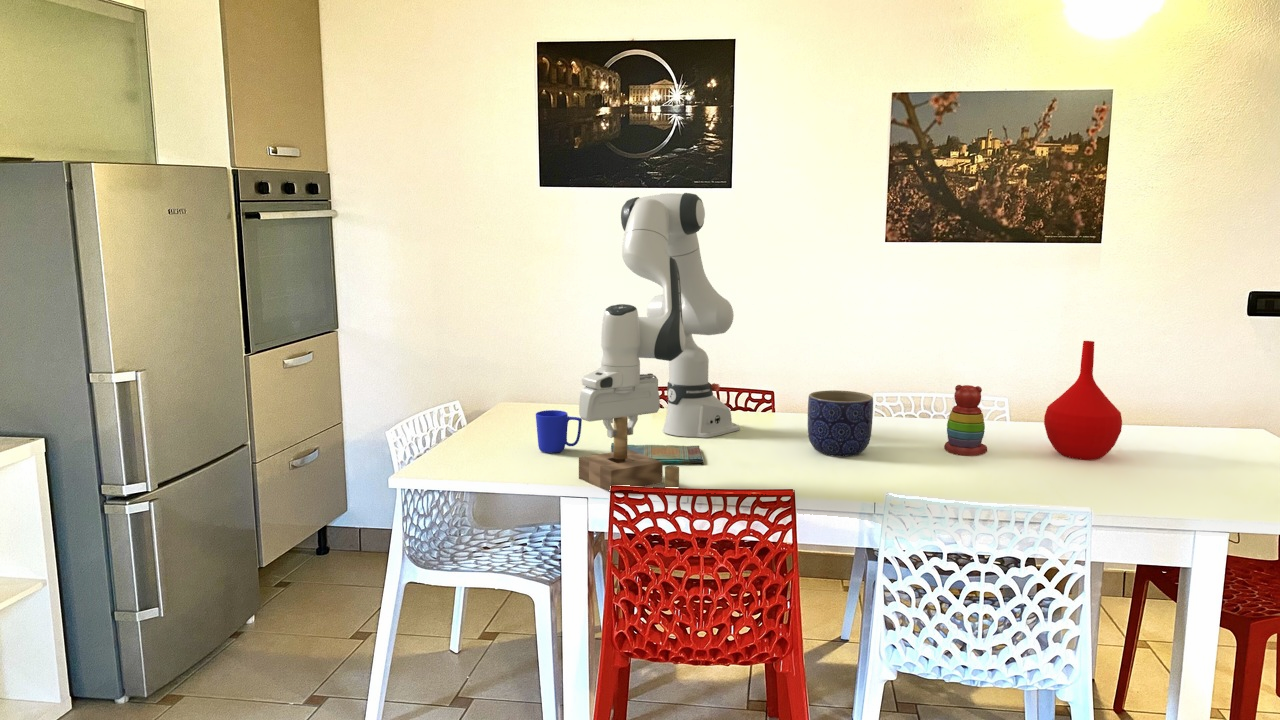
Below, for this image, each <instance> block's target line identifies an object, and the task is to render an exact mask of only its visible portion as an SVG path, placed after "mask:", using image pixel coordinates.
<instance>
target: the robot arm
mask: <svg viewBox="0 0 1280 720" xmlns="http://www.w3.org/2000/svg"><path fill="white" fill-rule="evenodd" d="M705 218H706V212H705V206H704V203H703V200H702V198H700V197H699V195H697V194H696V193H689V192H684V193H675V192H674V193H660V194H655V195H653V194H652V195H648V196H643V197H638V196H637V197H636V196H635V197H632V198H630V199H627V200H626V202H625V203H624V204H623V205H622V207H621V211H620V222H621V226H622V229H623V231H624V234H623V239H622V240H623V241H622V246H621V247H622V248H621V249H622V250H621V255H622V260H623V262H624V264H625V265H626V267H627V268H628V269H629V270H630V271H631V272H632V273H634V274H635V275H637V276H639V277H640V278H643V279H645V280H648V281H651V282H653V283H655V284H657V285H658V286H660V287H661V288H662V290H663V291H662V293H663V294H659V295H658V294H657V295H654V296H653V297H652V298H651V299H650V301H649V303H648V305H647V308H646V316H639V312H638V308H637V307H636V306H635V305H631V304H624V303H623V304H622V303H619V304H612V305H610V306H608V307H607V308H605V310H604V312H603V316H602V324H601V334H600V335H601V337H600V338H601V340H600V341H601V342H600V343H601V344H600V345H601V349H602V359H601V361H600V362H601V364H600V365H601V366H600V368H598V369H596V370H593V371H592V372H589V373H588V374H585V375H583V376H582V377H581V384H582V386H584V387H583V388H582V389H581V390H580V394H579V401H578V402H579V403H578V414H579V416H580V417H579V418H581V419H582V420H583V421H585V422H596V421H602V423H603V425H604V426H605V428H606V430H607V431H606V434H607V437H608V438H610V439H611V438H613V439H614V437H616V436H617V434H616V433H617V430H616V429H614V426H613V425H612V424H614V418H621V417H628V429H627V436H632V435H634V428H635V425H636V423H637V422H638V419H639V416H642V415H651V414H656V413H658V412H659V411H660V409H661V408H660V407H661V404H660V392H659V379H658V377H657V376H656V375H654V374H653V373H646V374H645V373H641V362H640V359H656V360H661V361H666V362H667V361H668V382H667V389H666V390H667V391H666V394H667V401H668V402H667V410H666V415H665V416H666V417H665V421H664V424H663V427H662V432H663V433H664V434H667V435H671V436H675V437H677V436H678V437H690V438H691V437H694V438H695V437H696V438H705V439H707V438H708V439H710V438H713V437H716V436H721V435H724V434H729V433H733V432H737V431H739V430H741V429H740V427H741V426H740V425H738V424H736V423H734V422H733V418H732V412H731V410H730V408H729V407H728V406H727V405H726V404H725V403H724V402H723V401H721V400H720V399H719V398H717V397H716V396H715V395H714V392H715V391H716V392H719V391H720V390H721V385H720V384H718V383H710V382H709V364H710V363H709V360H710V359H709V356H708V354H707V352H706V351H705V350H704V348H701V347H700V346H698V344H697V343H696V342H695V341H694V337H693V335H700V336H701V335H702V336H715V335H720V334H721V335H722V334H725V333H726V332H728V331H729V329H730V328H731V326H732V324H733V322H734V316H735V315H734V310H733V309H734V308H733V307H732V304H731V302H730V301H729V300H728V299H726V298H724V296H722V295H721V294H719V293H718V292H717V290H716V289H715V288H714V286H713V285H712V284H711V282H710V280H709V279H708V277H707V275H706V273H705V269H704V266H703V261H702V255H701V249H700V244H699V239H698V234H697V233H698V232H699V231H700V230H701V229H702V228H703V227H704V223H705ZM713 391H714V392H713Z"/></svg>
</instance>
